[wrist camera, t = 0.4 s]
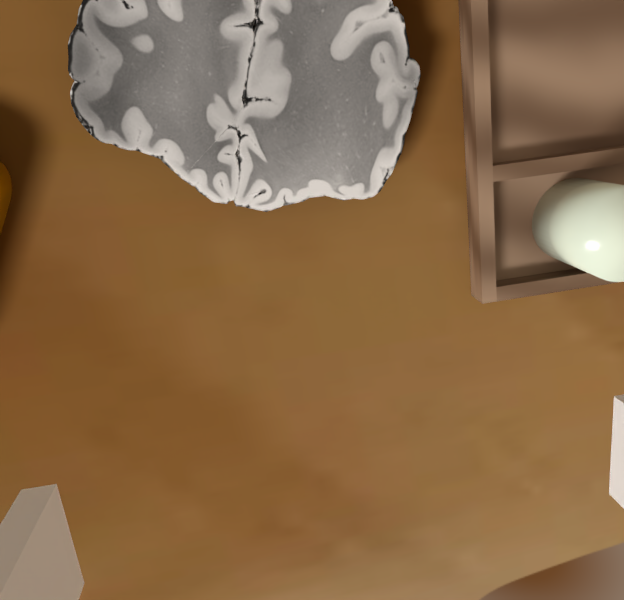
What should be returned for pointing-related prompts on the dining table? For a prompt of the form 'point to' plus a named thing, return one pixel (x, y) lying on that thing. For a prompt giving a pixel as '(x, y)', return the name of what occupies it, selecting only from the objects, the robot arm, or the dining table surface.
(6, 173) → the element tile
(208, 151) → the brain slice
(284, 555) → the dining table surface
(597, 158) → the organizer
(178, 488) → the dining table surface
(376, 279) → the dining table surface
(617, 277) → the white capsule pill
